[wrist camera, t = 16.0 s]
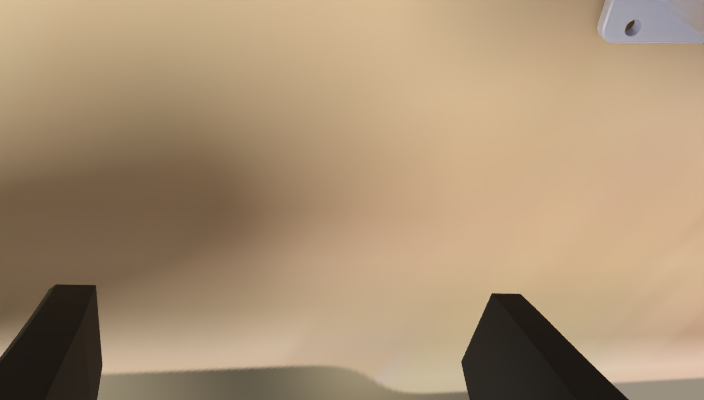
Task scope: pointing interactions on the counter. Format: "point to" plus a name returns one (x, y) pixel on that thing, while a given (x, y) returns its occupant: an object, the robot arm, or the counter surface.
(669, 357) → the counter surface
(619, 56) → the counter surface
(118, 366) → the counter surface
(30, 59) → the counter surface
